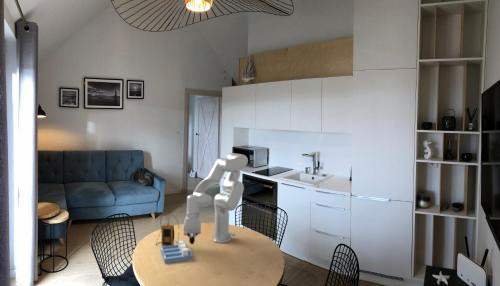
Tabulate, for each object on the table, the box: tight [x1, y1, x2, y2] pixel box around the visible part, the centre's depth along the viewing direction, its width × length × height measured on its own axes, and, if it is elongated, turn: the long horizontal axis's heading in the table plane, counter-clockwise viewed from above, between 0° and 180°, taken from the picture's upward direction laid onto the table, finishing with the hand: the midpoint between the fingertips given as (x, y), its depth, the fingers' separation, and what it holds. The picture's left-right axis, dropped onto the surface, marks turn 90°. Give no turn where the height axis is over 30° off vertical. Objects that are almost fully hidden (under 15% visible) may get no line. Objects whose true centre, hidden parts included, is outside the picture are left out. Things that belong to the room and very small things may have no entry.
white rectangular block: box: [180, 243, 186, 252], centre depth 195 cm, size 3×4×4 cm
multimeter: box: [155, 214, 180, 246], centre depth 211 cm, size 15×10×20 cm
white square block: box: [182, 247, 188, 256], centre depth 190 cm, size 3×4×4 cm
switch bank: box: [160, 243, 194, 264], centre depth 194 cm, size 16×18×3 cm
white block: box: [177, 239, 185, 248], centre depth 201 cm, size 3×4×4 cm
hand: (191, 243), depth 203 cm, fingers closed
